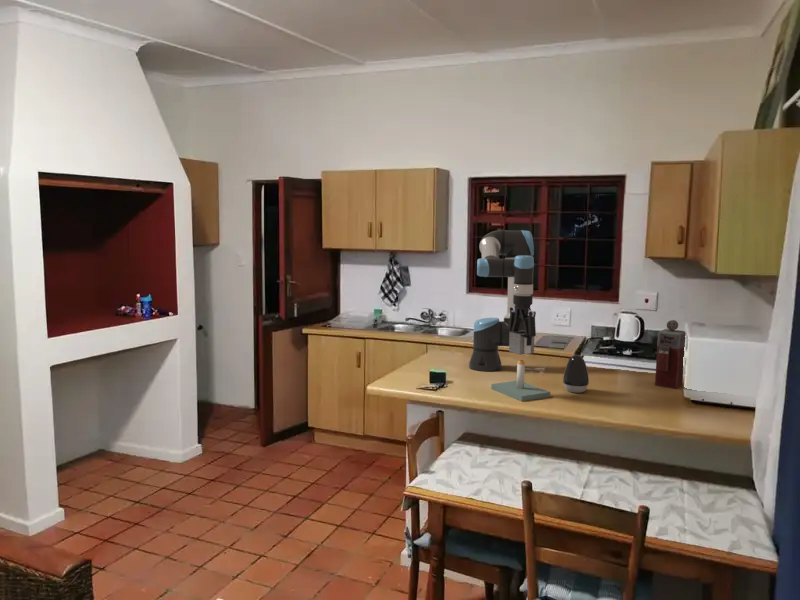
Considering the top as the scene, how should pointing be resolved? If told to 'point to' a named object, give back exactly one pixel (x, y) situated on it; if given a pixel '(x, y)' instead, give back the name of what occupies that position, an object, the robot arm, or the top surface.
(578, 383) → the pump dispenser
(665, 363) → the toy vending machine
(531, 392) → the keeper
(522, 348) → the grey square sleeve
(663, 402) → the top surface
